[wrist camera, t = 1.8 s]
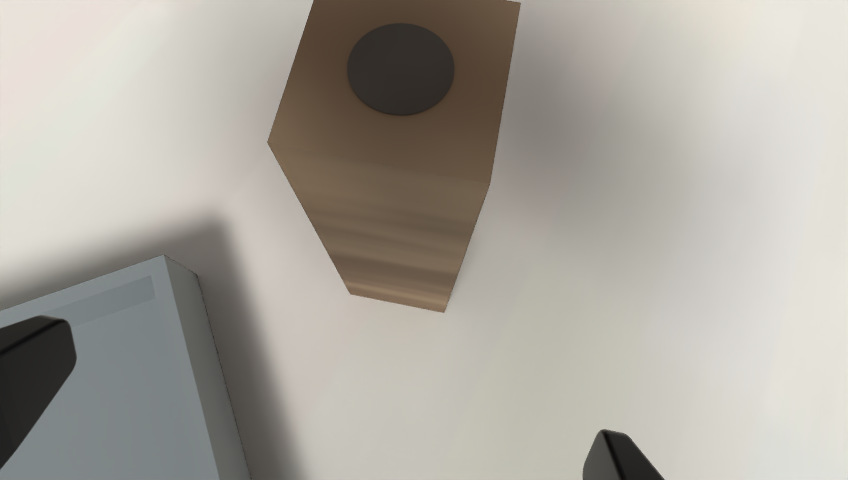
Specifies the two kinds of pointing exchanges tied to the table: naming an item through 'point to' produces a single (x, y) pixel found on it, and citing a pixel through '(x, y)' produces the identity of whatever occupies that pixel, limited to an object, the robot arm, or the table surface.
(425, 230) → the block
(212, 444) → the tray
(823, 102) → the table surface
